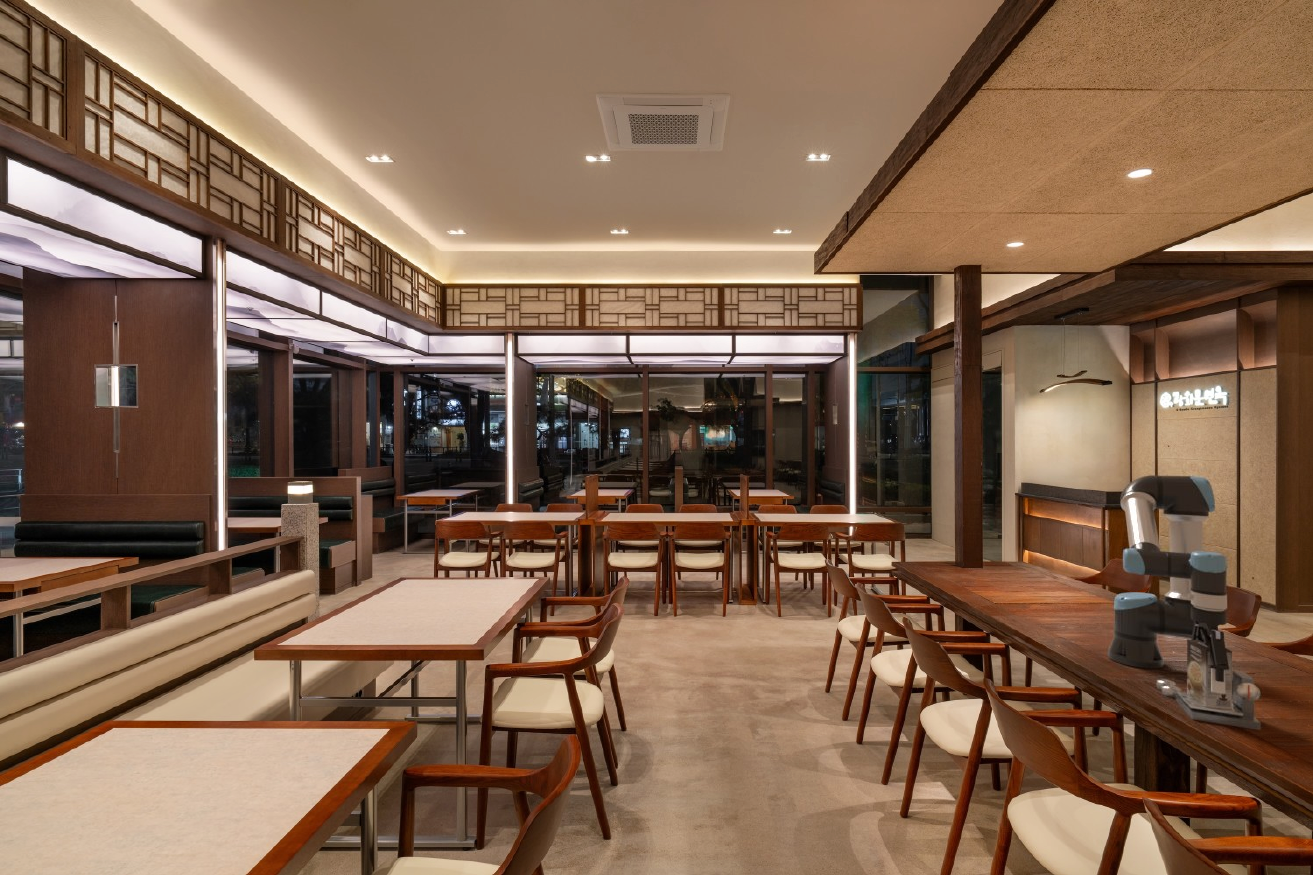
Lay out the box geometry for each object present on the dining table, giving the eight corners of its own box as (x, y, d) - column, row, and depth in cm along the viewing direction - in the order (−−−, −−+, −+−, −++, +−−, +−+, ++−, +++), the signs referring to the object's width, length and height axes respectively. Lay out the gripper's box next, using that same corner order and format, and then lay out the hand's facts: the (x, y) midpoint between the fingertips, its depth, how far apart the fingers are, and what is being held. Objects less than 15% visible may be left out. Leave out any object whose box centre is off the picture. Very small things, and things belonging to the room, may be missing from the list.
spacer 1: (1154, 685, 190) (1154, 677, 190) (1172, 688, 188) (1172, 680, 188) (1159, 690, 186) (1159, 682, 186) (1177, 693, 184) (1177, 685, 184)
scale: (1175, 699, 179) (1175, 659, 179) (1243, 710, 172) (1243, 667, 172) (1192, 719, 166) (1192, 675, 166) (1266, 731, 159) (1266, 685, 159)
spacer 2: (1159, 691, 185) (1159, 683, 185) (1178, 694, 183) (1178, 685, 183) (1164, 696, 181) (1164, 688, 181) (1183, 699, 179) (1183, 691, 179)
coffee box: (1185, 694, 175) (1185, 638, 175) (1211, 696, 173) (1211, 640, 174) (1206, 707, 166) (1205, 648, 166) (1234, 710, 164) (1233, 650, 165)
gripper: (1176, 596, 183) (1176, 666, 183) (1207, 617, 161) (1208, 697, 160) (1208, 599, 180) (1209, 670, 179) (1245, 621, 157) (1245, 703, 157)
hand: (1208, 683), depth 170 cm, fingers open, 13 cm apart
